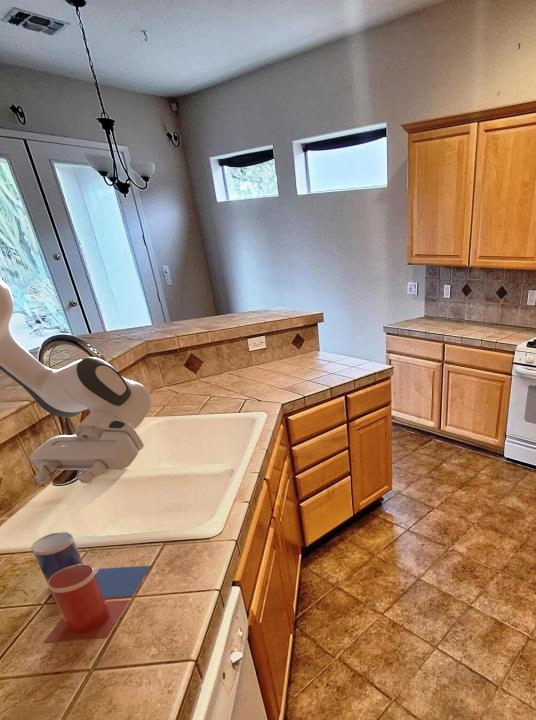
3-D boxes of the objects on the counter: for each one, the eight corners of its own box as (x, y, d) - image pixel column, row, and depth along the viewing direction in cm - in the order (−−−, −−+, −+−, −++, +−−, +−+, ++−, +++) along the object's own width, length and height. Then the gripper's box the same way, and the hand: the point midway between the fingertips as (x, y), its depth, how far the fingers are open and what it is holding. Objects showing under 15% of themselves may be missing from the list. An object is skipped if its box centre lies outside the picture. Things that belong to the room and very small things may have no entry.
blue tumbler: (42, 594, 82) (22, 552, 77) (61, 573, 87) (44, 532, 83) (78, 592, 82) (60, 550, 78) (94, 571, 88) (79, 530, 84)
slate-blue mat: (76, 601, 80) (75, 599, 80) (100, 569, 88) (99, 568, 88) (132, 597, 82) (132, 595, 82) (151, 566, 90) (151, 565, 90)
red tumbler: (59, 635, 73) (38, 590, 68) (79, 608, 78) (61, 565, 74) (99, 632, 74) (81, 587, 69) (116, 605, 79) (100, 562, 75)
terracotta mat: (43, 644, 72) (42, 642, 71) (73, 604, 80) (72, 603, 79) (107, 638, 73) (107, 637, 73) (130, 600, 81) (130, 599, 81)
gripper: (49, 424, 92) (1, 469, 83) (136, 423, 90) (98, 469, 80) (67, 446, 97) (24, 491, 87) (151, 446, 95) (116, 492, 85)
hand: (60, 481), depth 84 cm, fingers open, 8 cm apart
